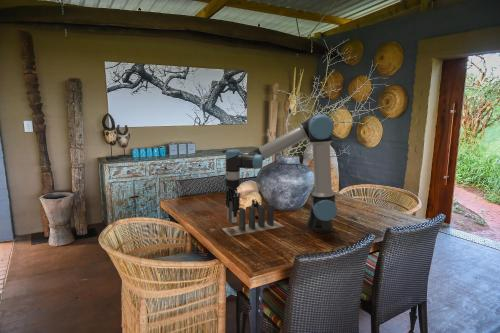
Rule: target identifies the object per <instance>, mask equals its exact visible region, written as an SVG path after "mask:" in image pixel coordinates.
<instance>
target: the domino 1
mask: <svg viewBox="0 0 500 333" xmlns="http://www.w3.org/2000/svg"><path fill="white" fill-rule="evenodd" d="M231 210H233V207H232V200H230V201H229V220H228V222H229V223H230V224H232V225H236V222H235V223H232V211H231Z"/></svg>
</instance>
